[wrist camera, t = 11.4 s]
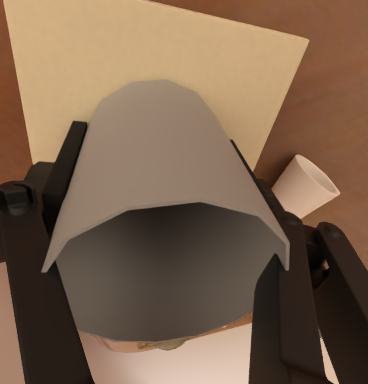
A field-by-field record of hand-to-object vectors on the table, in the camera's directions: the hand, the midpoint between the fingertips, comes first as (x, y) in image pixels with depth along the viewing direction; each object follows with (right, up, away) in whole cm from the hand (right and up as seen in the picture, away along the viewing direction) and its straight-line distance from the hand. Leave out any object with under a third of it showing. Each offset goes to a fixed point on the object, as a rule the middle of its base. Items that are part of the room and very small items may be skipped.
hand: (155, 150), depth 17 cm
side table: (-1, +5, +7) cm, 9 cm away
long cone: (+11, -5, +18) cm, 22 cm away
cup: (0, 0, 0) cm, 0 cm away
